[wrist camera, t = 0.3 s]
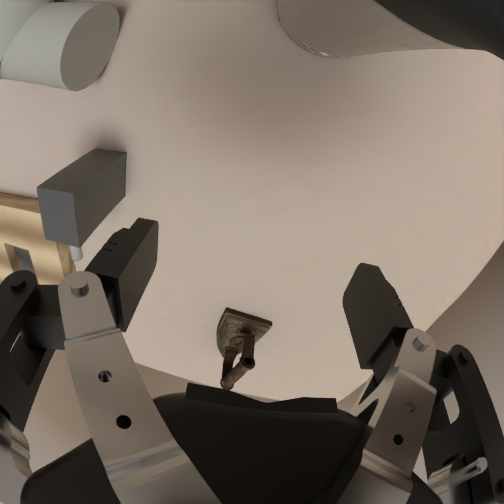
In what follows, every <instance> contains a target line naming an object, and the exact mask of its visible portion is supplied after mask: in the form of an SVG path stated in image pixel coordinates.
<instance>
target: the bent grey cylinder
mask: <svg viewBox="0 0 504 504" xmlns="http://www.w3.org/2000/svg"><path fill="white" fill-rule="evenodd" d="M54 1H55V0H0V79H8V80H16V81H23V82H29V83H35V84H41V85H46V86H51V87H56V88H61V89H66V90H71V91H80V90H82V89H85V88H86V87H88V86H89V85H90V84H92V83H93V82H94V81H95V80H96V79H97V77H98V76H99V75H100V74H101V72H102V71H103V69H104V68H105V66H106V65H107V63H108V61H109V59H110V57H111V54H112V51H113V49H114V46H115V43H116V41H117V38H118V34H119V27H120V20H119V14H118V11H117V9H116V8H115V7H114V6H113V5H111V4H109V3H98V2H54Z"/></svg>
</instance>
